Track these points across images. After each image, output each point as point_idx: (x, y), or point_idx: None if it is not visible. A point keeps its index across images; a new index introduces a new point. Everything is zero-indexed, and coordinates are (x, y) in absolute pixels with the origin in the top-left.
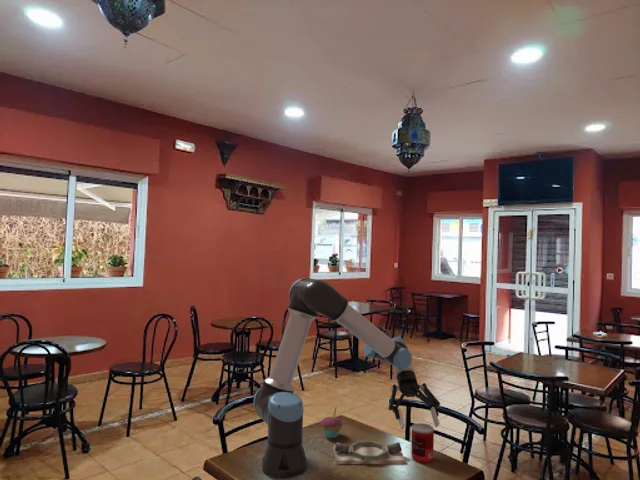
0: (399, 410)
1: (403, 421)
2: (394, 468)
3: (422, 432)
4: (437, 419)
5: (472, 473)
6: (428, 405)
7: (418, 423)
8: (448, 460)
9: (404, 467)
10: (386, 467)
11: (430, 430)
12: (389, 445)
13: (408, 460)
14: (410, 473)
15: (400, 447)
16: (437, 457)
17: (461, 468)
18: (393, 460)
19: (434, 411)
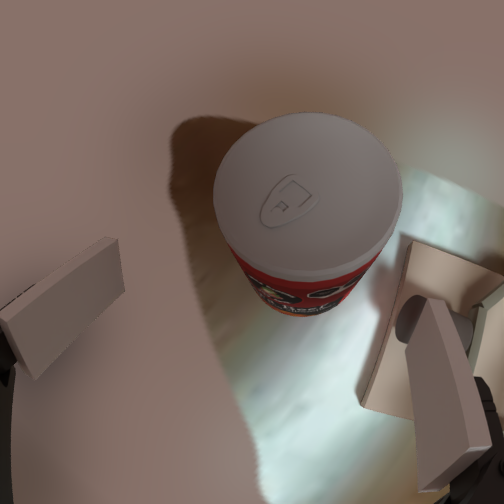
0: (481, 424)
1: (440, 323)
2: (460, 228)
3: (356, 125)
4: (87, 252)
5: (199, 118)
6: (6, 404)
7: (292, 268)
8: (201, 211)
9: (423, 220)
10: (484, 245)
11: (279, 126)
12: (465, 331)
13: (379, 269)
14: (418, 175)
15: (420, 296)
16: (226, 250)
17: (205, 148)
18: (459, 258)
19: (37, 292)
